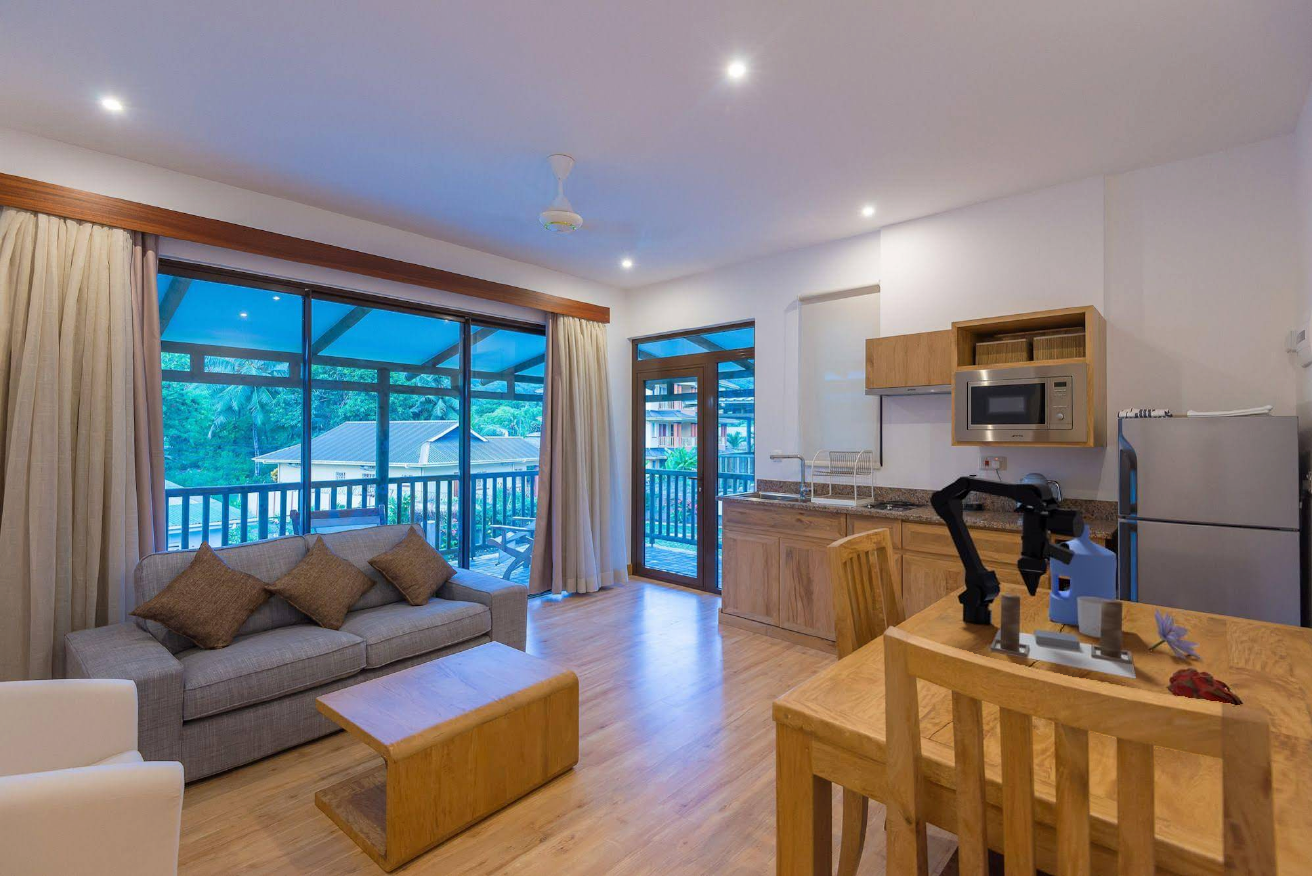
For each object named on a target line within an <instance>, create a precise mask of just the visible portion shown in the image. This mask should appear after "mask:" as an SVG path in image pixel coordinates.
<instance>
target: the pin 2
mask: <svg viewBox="0 0 1312 876" xmlns="http://www.w3.org/2000/svg"><path fill="white" fill-rule="evenodd" d="M1122 634H1123V602H1122V601H1120V600H1117V599H1115V600H1111V599H1102V600H1101V638H1100V641H1099V642H1100V644H1099V645H1100V654H1101V655H1103V656H1109V657H1114V658H1120V659H1121V650H1122V645H1123V643H1122V641H1123V639H1122V636H1123V635H1122Z"/></svg>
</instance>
